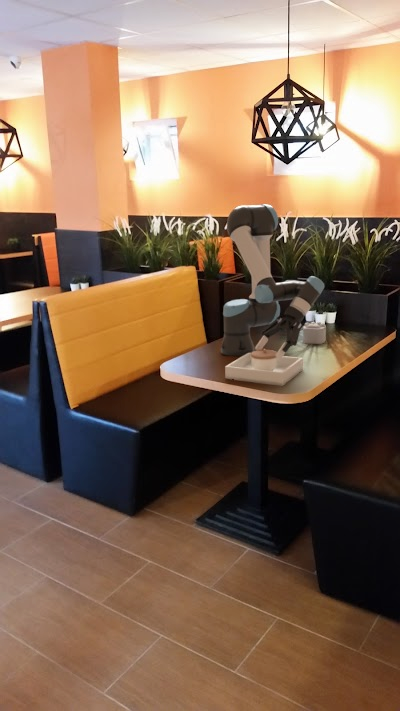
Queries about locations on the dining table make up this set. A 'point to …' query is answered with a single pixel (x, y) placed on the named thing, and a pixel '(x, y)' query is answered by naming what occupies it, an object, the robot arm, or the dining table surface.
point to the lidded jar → (264, 359)
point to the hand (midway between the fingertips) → (267, 353)
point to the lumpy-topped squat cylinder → (314, 333)
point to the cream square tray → (278, 376)
